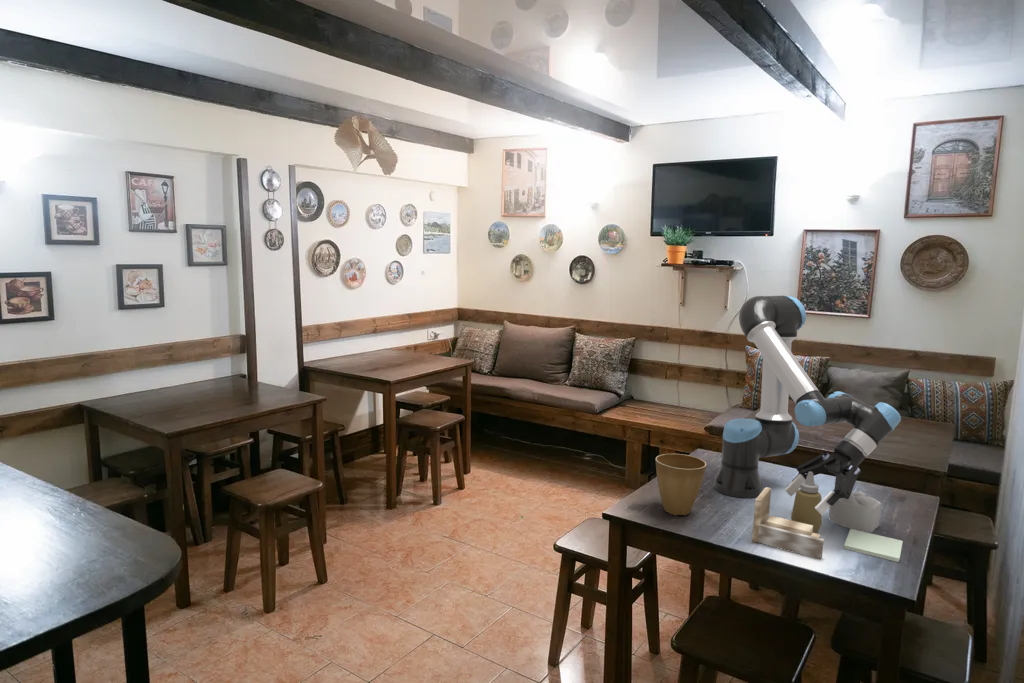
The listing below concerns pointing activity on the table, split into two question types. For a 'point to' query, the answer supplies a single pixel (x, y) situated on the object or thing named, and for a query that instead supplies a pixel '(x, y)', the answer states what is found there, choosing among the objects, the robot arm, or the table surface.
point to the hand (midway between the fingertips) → (802, 502)
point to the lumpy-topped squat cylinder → (856, 512)
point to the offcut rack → (784, 530)
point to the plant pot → (679, 481)
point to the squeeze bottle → (807, 504)
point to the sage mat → (873, 545)
